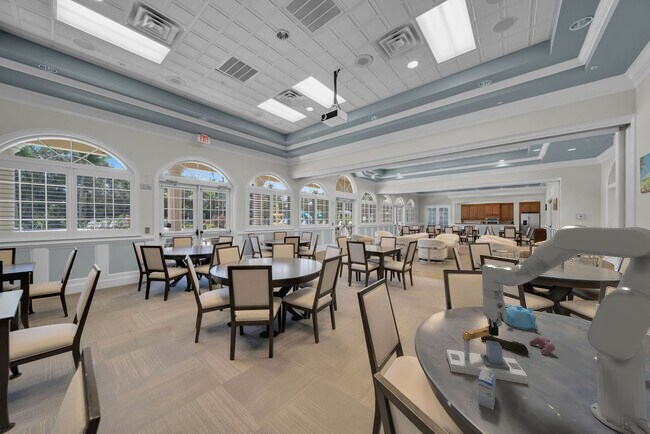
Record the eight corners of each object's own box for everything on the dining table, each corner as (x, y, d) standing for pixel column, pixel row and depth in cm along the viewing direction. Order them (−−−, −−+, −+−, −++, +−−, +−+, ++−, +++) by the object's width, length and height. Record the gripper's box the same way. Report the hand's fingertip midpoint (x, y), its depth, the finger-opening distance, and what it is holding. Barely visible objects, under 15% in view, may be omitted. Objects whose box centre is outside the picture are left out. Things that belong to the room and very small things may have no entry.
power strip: (527, 384, 92) (527, 354, 92) (451, 371, 100) (450, 344, 100) (514, 365, 103) (513, 339, 103) (446, 355, 111) (446, 331, 112)
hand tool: (480, 341, 125) (479, 332, 125) (483, 339, 127) (483, 330, 127) (526, 358, 109) (526, 347, 109) (529, 355, 111) (529, 345, 111)
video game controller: (551, 359, 110) (559, 346, 110) (541, 354, 111) (549, 340, 110) (537, 348, 120) (544, 335, 119) (527, 343, 120) (534, 331, 120)
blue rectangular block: (502, 367, 97) (502, 347, 98) (489, 365, 99) (489, 345, 99) (498, 361, 102) (498, 341, 102) (486, 359, 103) (486, 340, 103)
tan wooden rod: (495, 334, 108) (495, 328, 108) (467, 341, 102) (466, 335, 102) (489, 331, 110) (489, 325, 111) (461, 338, 104) (461, 332, 104)
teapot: (497, 317, 153) (497, 299, 153) (531, 322, 146) (531, 303, 146) (504, 327, 139) (504, 308, 139) (542, 333, 132) (542, 312, 132)
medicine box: (481, 391, 88) (480, 367, 88) (496, 396, 85) (495, 372, 86) (478, 404, 82) (477, 378, 82) (494, 410, 79) (493, 384, 80)
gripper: (513, 298, 97) (514, 344, 97) (492, 288, 112) (493, 327, 112) (493, 298, 98) (494, 343, 98) (475, 287, 113) (476, 327, 113)
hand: (493, 335), depth 105 cm, fingers closed
